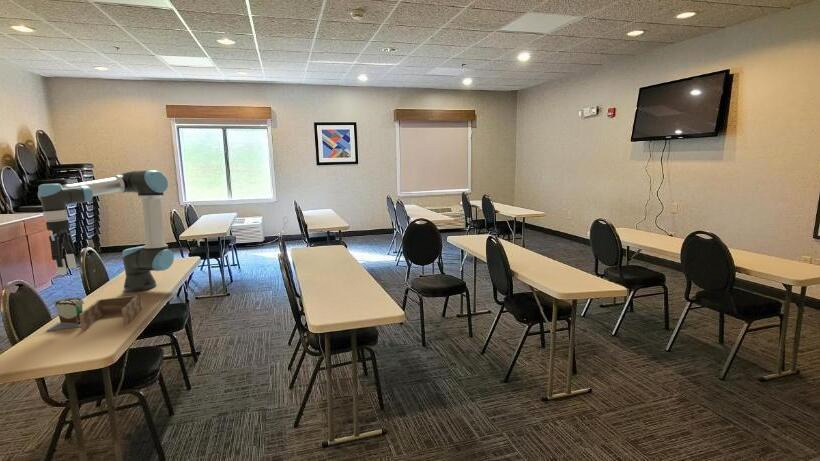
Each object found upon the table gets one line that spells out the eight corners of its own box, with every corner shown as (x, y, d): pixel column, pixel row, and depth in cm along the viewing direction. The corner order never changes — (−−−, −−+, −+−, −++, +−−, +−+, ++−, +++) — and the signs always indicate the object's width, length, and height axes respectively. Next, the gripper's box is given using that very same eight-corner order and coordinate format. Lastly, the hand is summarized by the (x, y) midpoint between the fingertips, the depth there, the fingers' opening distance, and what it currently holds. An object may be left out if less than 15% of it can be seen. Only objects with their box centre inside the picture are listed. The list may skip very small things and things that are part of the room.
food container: (94, 319, 183) (90, 297, 181) (80, 324, 177) (76, 302, 175) (72, 317, 185) (68, 296, 184) (57, 322, 179) (53, 301, 178)
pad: (57, 323, 180) (57, 322, 180) (94, 318, 184) (94, 317, 184) (46, 331, 171) (46, 330, 171) (86, 326, 176) (86, 325, 176)
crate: (100, 314, 190) (98, 299, 189) (141, 309, 195) (139, 294, 194) (81, 330, 171) (79, 314, 170) (127, 324, 176) (124, 308, 175)
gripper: (58, 217, 183) (68, 265, 188) (32, 225, 163) (45, 279, 168) (78, 215, 186) (88, 263, 190) (55, 223, 166) (67, 276, 170)
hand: (68, 271), depth 179 cm, fingers open, 9 cm apart
